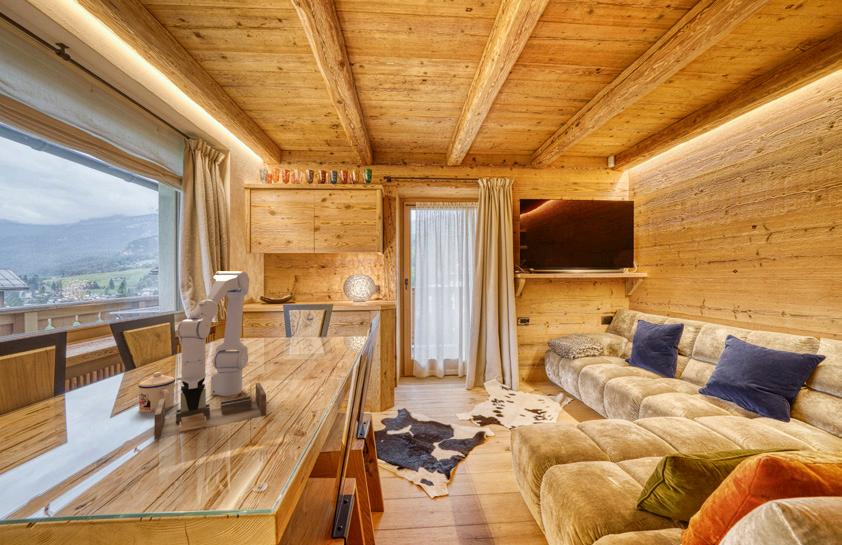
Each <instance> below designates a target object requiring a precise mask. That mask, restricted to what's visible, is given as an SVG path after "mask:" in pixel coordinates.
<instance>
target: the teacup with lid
mask: <svg viewBox="0 0 842 545" xmlns="http://www.w3.org/2000/svg"><path fill="white" fill-rule="evenodd" d="M175 381H176V379H175V377H174V376H167V375H165V374H162V372H161V371H156V372H154V373H153V374H152V376H150V377H148V378H146V379H144V380H142V381H140V382H139V384H138V388H139V389H138V390H139V391H138V394H139V395H138V397H139V400H138V401H139V402H138V406H139V407H138V408H139V409H138V410H139V412H141V413H150V412H151V413H152V412H156V409H157V406H158V403H159V400H160V399H163V398H165V410H166V409H168V408H171V407H172V406H174V405H175Z"/></svg>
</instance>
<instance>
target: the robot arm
mask: <svg viewBox="0 0 842 545" xmlns="http://www.w3.org/2000/svg"><path fill="white" fill-rule="evenodd" d="M249 288H250V277H249V275H248V273H247V271H244V270H241V271H222V270H218V271H216V272H215V273H214V275H213V277H212V288H211V289H210V291H209V293H208V295H207V296H206V298H205V299H202V300H201V301H199V302H198V304H197V305H196V306H195V308H194V309H193V311H191V314H190V315H189V317H188V318H186V319H183V320H181V321H180V322H179V324H178V326H177V330H176V335H177V337H178V339H179V342H178V343H179V344H180V346H181V375H178V376H176V381H181V382H182V384H183V385H182V386H181V387H180V392H181V391H182V392H183V394H184V395H185V398H186V402H187V407H188V410H189V411H191V410H197V409H198V406H199V401H200V396H201V393H202V391H203V389H204V387H206V383H204V382H205V380H206V376H207V373H206V338H207V337H208V336H209V334H210V333H211V326H212V321H213V319H214V318H215V316H216V314H217V313H218V311H219V306H218V304H219V303H220V302H221V301H222V299H223V298H224V296H226V297H227V298H228V300H227V311H226V319H225V327H224V337H223V338H224V339H223V342H222V343H221V344H220V345H219V346H216V349H215V352H214V355H213V358H212V366H213V367H214V369H215V371H214V372H213V373H212V374H211V377H210V395H214V396H221V397H230V396H235V395H239V394H240V393H242V392H243V369H245V367H247V364H248V362H249V355H248V353H249V352H248V347H247V346H246V344H244V343H242V342H241V333H242V327H243V326H242V325H243V324H242V323H243V313H244V305H245V304H244V303H245V296H247V295H248V294H249Z"/></svg>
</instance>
